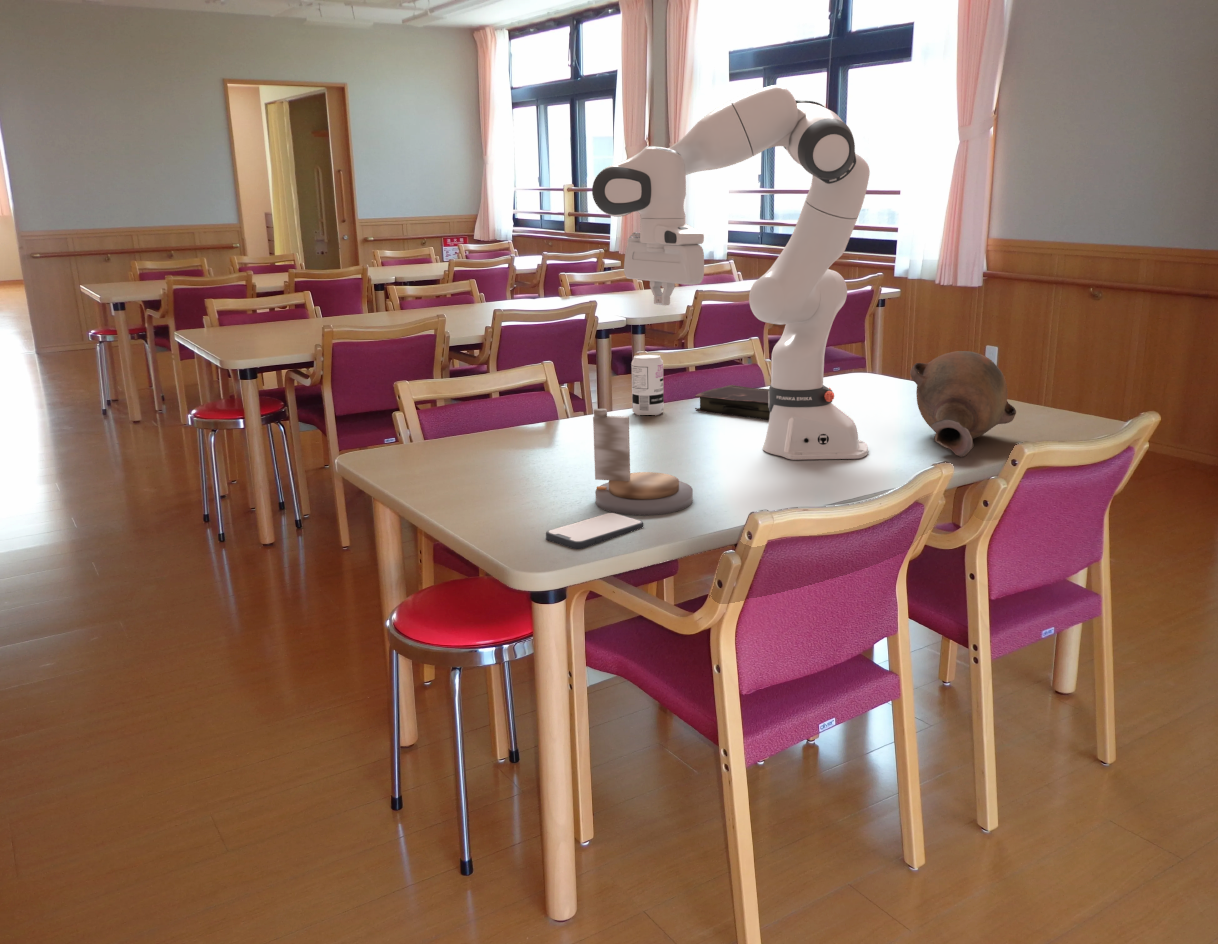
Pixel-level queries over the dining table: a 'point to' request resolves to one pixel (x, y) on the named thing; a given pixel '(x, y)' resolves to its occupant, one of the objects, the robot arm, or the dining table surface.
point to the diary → (736, 401)
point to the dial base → (644, 502)
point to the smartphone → (593, 530)
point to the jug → (961, 398)
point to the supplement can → (647, 385)
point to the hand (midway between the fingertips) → (661, 304)
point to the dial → (624, 462)
